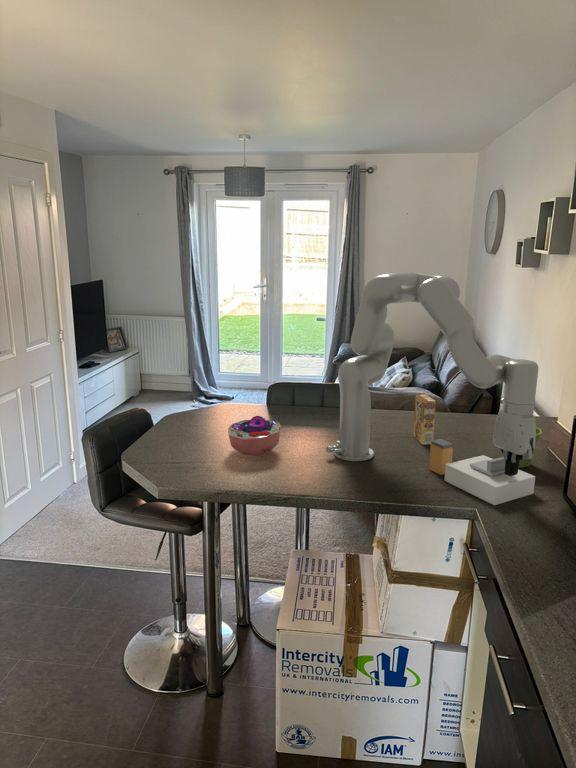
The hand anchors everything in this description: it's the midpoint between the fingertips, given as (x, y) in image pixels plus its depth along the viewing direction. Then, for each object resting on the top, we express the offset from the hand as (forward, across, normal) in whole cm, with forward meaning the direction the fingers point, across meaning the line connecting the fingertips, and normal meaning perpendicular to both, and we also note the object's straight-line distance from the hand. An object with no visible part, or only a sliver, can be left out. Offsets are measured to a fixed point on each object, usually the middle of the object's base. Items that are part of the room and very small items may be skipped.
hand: (510, 474), depth 149 cm
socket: (+6, -7, 0) cm, 10 cm away
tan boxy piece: (+6, -22, -4) cm, 23 cm away
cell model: (+7, -62, -46) cm, 77 cm away
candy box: (+7, -45, +10) cm, 47 cm away
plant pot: (+7, -15, +22) cm, 27 cm away
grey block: (+1, -7, 0) cm, 7 cm away
